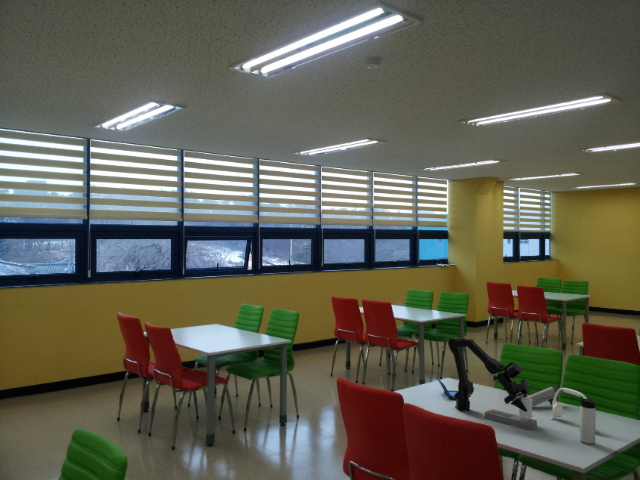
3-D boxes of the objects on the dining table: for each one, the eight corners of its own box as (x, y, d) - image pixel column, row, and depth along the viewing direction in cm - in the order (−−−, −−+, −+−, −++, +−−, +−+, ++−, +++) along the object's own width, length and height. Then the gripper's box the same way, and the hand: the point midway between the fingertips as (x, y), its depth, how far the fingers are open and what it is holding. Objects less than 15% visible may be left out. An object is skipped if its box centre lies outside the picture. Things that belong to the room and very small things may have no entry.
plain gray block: (519, 422, 248) (519, 398, 248) (522, 420, 251) (523, 396, 251) (528, 424, 245) (528, 400, 245) (532, 422, 248) (532, 399, 248)
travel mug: (576, 440, 231) (576, 397, 231) (589, 439, 231) (590, 397, 232) (584, 445, 224) (584, 401, 225) (598, 445, 225) (598, 401, 225)
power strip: (484, 417, 259) (484, 410, 259) (491, 414, 265) (491, 407, 265) (530, 430, 242) (530, 423, 242) (536, 426, 248) (536, 419, 248)
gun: (562, 402, 284) (559, 385, 283) (528, 416, 275) (525, 399, 275) (558, 401, 286) (555, 384, 286) (525, 415, 278) (522, 398, 277)
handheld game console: (466, 400, 289) (466, 384, 289) (443, 400, 289) (443, 384, 289) (458, 392, 305) (458, 377, 305) (436, 392, 305) (437, 377, 305)
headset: (594, 429, 244) (594, 393, 245) (585, 432, 241) (585, 395, 241) (557, 417, 262) (558, 383, 262) (549, 419, 258) (549, 385, 259)
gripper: (510, 378, 244) (532, 405, 236) (526, 371, 258) (547, 397, 250) (495, 390, 250) (516, 417, 242) (511, 383, 263) (531, 409, 255)
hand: (528, 410), depth 247 cm, fingers closed on plain gray block, 5 cm apart
